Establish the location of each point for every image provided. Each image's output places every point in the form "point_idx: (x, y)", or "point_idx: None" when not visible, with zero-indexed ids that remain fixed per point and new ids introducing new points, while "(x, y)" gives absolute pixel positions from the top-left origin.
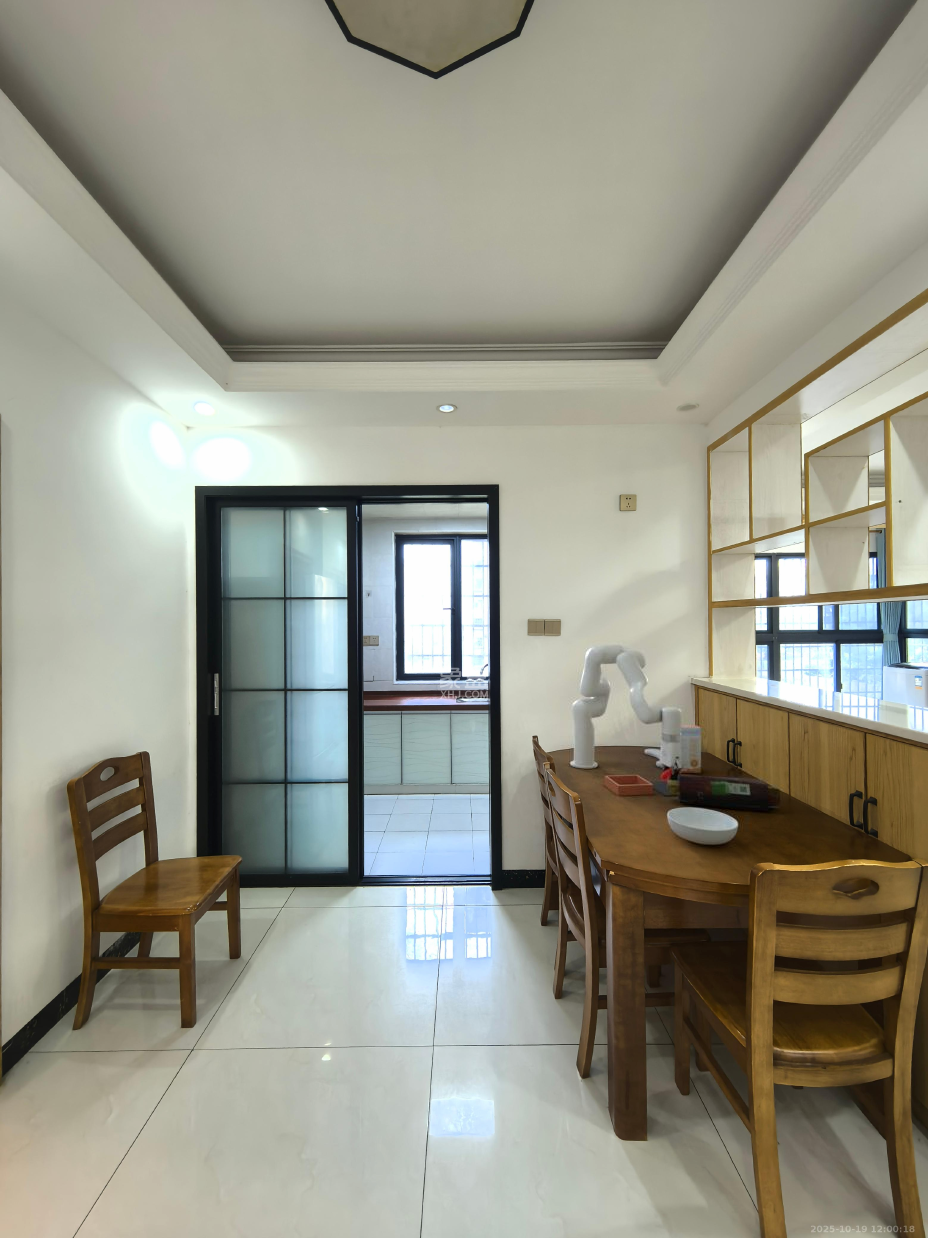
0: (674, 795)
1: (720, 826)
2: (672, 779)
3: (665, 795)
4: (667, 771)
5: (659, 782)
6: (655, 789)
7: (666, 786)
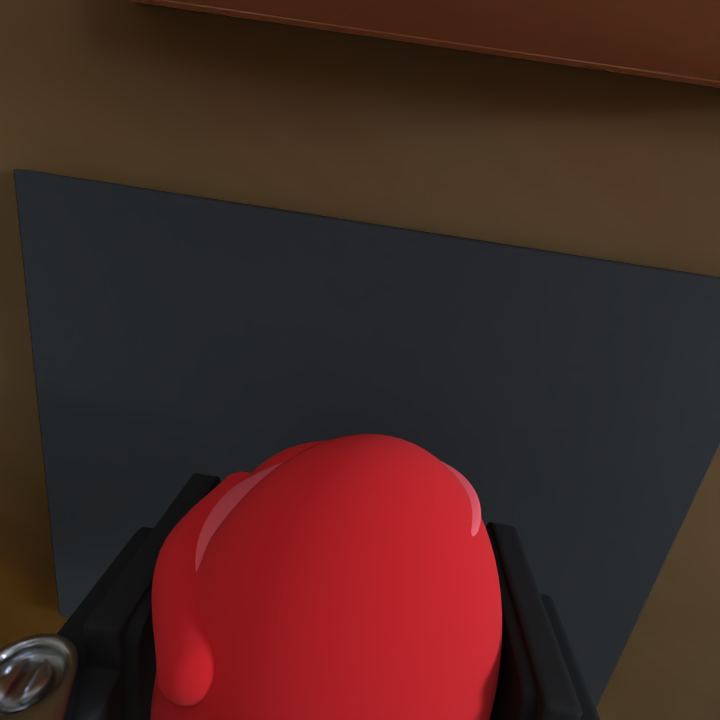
0: (36, 326)
1: None
2: (152, 547)
3: (14, 172)
4: (261, 680)
5: (656, 506)
6: (369, 223)
7: None
